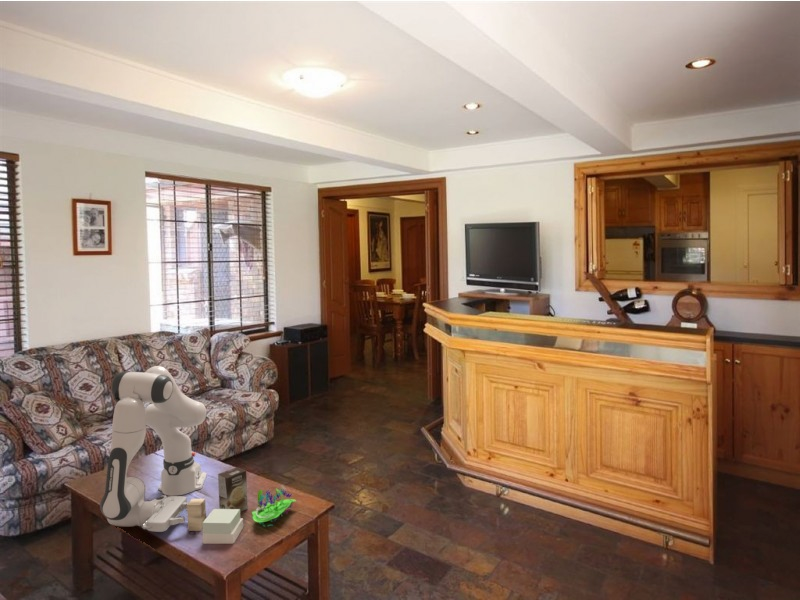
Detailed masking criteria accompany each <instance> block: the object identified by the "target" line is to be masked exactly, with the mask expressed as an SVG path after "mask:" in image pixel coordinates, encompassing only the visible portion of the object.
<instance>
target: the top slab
mask: <svg viewBox="0 0 800 600" xmlns="http://www.w3.org/2000/svg"><path fill="white" fill-rule="evenodd" d="M240 518H241V512H240V509H220V508H213V509H212V510H211V511H210V513H209V514H208V516H206V519H205V520H204V522H203V529H202V534H203V533H209V534H231V532H232V531H233V530H234V528H235V527H236V525H237V524H238V522H239V521H240Z"/></svg>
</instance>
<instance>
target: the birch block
mask: <svg viewBox="0 0 800 600" xmlns="http://www.w3.org/2000/svg"><path fill="white" fill-rule="evenodd" d="M187 503H188V504H187V508H186V515H187V531H189V532H190V531H193V532H194V531H195V532H196V531H197V532H199V531H202V532H203V522H204V520H205V519H206V518H207V510H206V509H207V507H206V498H191V499H190V501H189V502H187Z"/></svg>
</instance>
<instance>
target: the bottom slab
mask: <svg viewBox="0 0 800 600" xmlns="http://www.w3.org/2000/svg"><path fill="white" fill-rule="evenodd" d="M243 529H244V517H242V518H241V517H240V521H239V522H238V524H237V525H236V527H235V528H234V530H233V531H232V532H231V534H209V533H203V532H202V544H207V545H208V544H213V545H215V544H219V545H220V544H223V545H224V544H228V545H229V544H231V545H232V544H234V543H235V542H236V541H237V539H238V537H239V535H240V534H241V532H242V530H243Z"/></svg>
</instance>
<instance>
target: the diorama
mask: <svg viewBox="0 0 800 600" xmlns="http://www.w3.org/2000/svg"><path fill="white" fill-rule="evenodd" d="M278 488H279V486H278V487H277V488H275V494H274V495H273V494H272V493H271V491H272V490H270V489H265V490H266V491H267V492H265V494H264V493H263V491H264V490H262V489H259V491H258V493H257V503H258V504H257V507H256V510H253V511H251V515H252V520H253V522H254V521H255V522H256V523H258V524H259V525H261V524H262V527H266V524H264V523H265V522H276V520H278V519H280V515H281V517H283V513H284V514H287V513H288V512H289V511H292V509H291V508H293V502H297V500H296V499H294V498H292V499H290V497H292V493H291V494H290V492H288V491H287V488H286V487H284V485H280V489H278ZM285 497H286V498H285ZM264 498H265V499H266V500H264ZM284 498H285V499H284ZM287 498H289V499H287ZM263 501H265V503H264V502H263ZM270 526H274V524H268V525H267V527H270Z"/></svg>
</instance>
